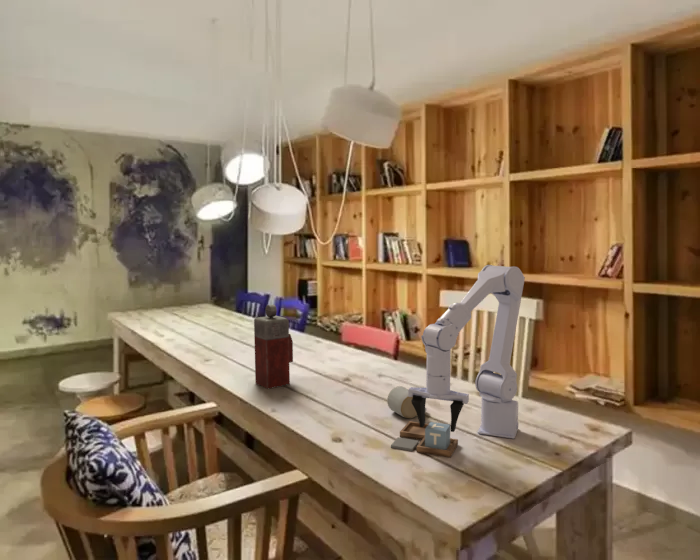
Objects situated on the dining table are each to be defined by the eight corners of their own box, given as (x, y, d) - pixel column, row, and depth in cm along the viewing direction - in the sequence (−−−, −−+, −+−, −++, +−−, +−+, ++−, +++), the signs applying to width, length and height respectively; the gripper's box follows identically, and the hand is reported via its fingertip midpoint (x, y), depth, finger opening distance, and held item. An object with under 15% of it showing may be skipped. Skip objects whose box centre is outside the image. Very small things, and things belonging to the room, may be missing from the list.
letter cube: (450, 444, 133) (450, 424, 132) (445, 452, 128) (445, 431, 128) (430, 441, 135) (430, 421, 134) (424, 448, 130) (425, 428, 130)
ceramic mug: (401, 421, 150) (402, 395, 149) (386, 412, 157) (386, 387, 156) (432, 416, 155) (433, 390, 154) (416, 407, 162) (417, 383, 161)
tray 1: (438, 430, 143) (438, 425, 143) (430, 441, 136) (430, 436, 136) (409, 426, 146) (409, 421, 146) (399, 436, 139) (399, 431, 139)
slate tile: (418, 442, 135) (418, 440, 135) (412, 451, 130) (412, 448, 130) (398, 439, 137) (397, 437, 137) (390, 447, 132) (390, 445, 132)
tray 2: (457, 444, 134) (457, 439, 133) (450, 457, 126) (450, 451, 126) (426, 439, 137) (426, 434, 137) (416, 452, 129) (416, 446, 129)
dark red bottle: (295, 383, 188) (294, 304, 186) (267, 389, 181) (265, 307, 179) (282, 377, 195) (281, 301, 193) (255, 383, 189) (253, 304, 186)
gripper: (404, 374, 129) (404, 429, 130) (464, 381, 123) (463, 438, 124) (413, 367, 135) (412, 419, 137) (470, 373, 130) (469, 428, 131)
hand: (437, 428), depth 131 cm, fingers open, 7 cm apart
